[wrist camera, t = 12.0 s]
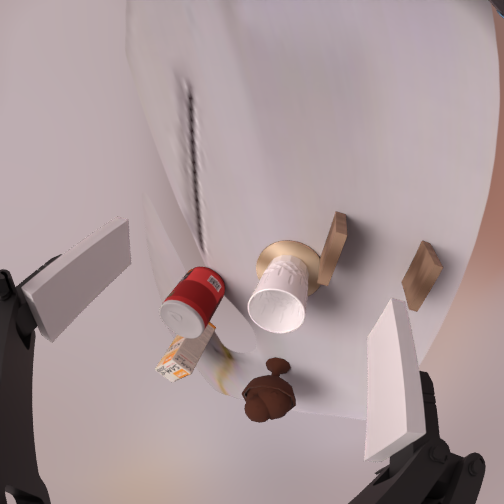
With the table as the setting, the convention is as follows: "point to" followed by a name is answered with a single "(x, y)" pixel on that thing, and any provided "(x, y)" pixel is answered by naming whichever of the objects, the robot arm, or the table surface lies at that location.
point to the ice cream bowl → (269, 393)
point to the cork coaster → (295, 250)
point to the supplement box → (184, 355)
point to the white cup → (281, 295)
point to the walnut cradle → (415, 280)
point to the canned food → (193, 302)
